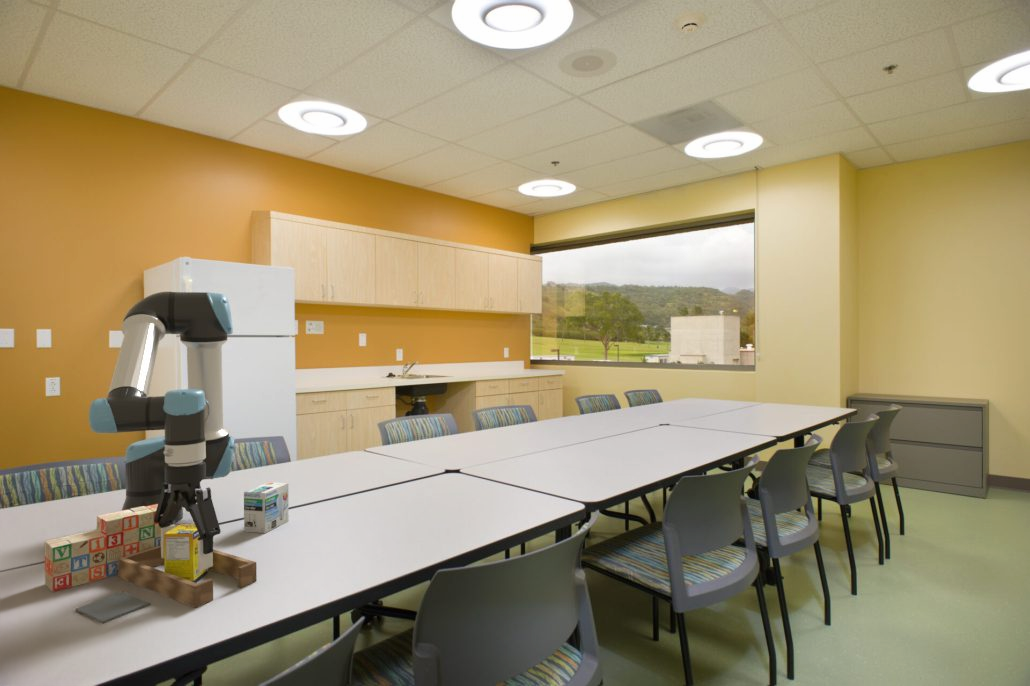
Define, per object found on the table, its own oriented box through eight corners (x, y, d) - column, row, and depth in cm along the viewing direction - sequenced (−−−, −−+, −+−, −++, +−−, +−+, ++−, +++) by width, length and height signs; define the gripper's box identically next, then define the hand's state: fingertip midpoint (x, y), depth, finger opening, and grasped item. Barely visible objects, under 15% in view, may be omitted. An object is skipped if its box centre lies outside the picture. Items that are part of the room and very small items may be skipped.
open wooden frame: (118, 577, 118) (117, 558, 118) (179, 556, 130) (179, 539, 130) (195, 607, 105) (195, 586, 105) (256, 581, 116) (256, 562, 116)
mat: (75, 610, 104) (75, 608, 104) (122, 593, 111) (122, 591, 111) (102, 623, 99) (102, 621, 99) (149, 604, 106) (149, 602, 106)
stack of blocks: (51, 593, 111) (51, 532, 111) (44, 584, 115) (43, 526, 115) (169, 560, 128) (169, 507, 128) (160, 553, 132) (159, 502, 132)
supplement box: (208, 573, 120) (207, 523, 120) (193, 585, 114) (192, 533, 114) (180, 573, 120) (180, 523, 120) (164, 586, 114) (163, 533, 114)
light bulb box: (265, 534, 144) (264, 493, 144) (242, 532, 146) (242, 491, 145) (289, 520, 155) (289, 482, 155) (268, 519, 156) (268, 481, 156)
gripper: (134, 459, 120) (135, 557, 120) (203, 472, 108) (204, 581, 108) (170, 453, 126) (171, 545, 126) (238, 465, 114) (239, 566, 114)
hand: (186, 562), depth 117 cm, fingers open, 13 cm apart
